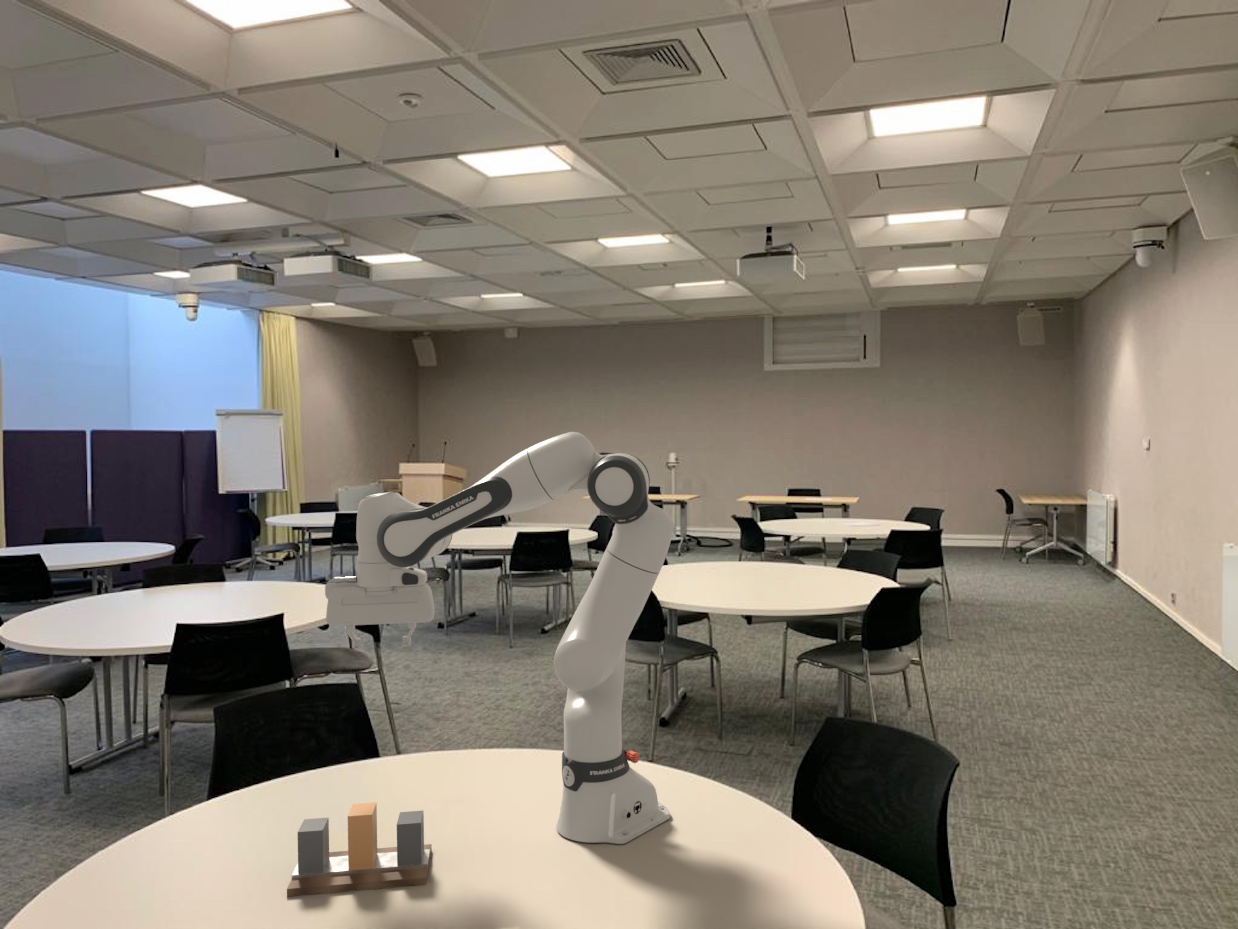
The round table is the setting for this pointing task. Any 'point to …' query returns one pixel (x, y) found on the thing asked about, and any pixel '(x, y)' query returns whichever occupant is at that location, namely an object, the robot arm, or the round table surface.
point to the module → (362, 836)
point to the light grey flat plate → (381, 864)
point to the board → (359, 878)
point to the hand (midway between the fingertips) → (381, 646)
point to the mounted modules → (317, 842)
